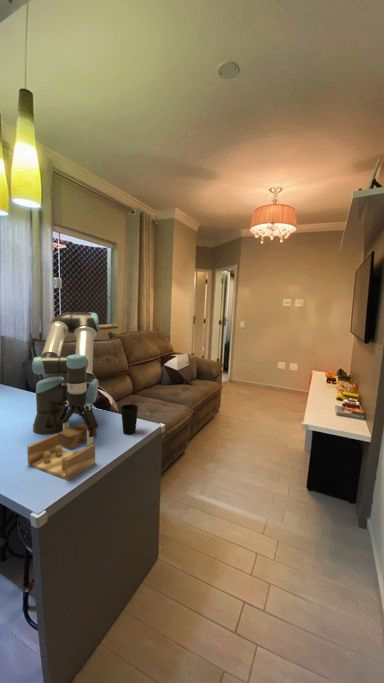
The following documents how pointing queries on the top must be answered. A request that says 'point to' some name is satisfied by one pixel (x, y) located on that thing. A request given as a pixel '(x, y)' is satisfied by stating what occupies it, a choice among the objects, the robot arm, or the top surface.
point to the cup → (129, 418)
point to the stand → (59, 458)
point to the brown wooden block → (74, 436)
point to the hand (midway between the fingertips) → (77, 440)
